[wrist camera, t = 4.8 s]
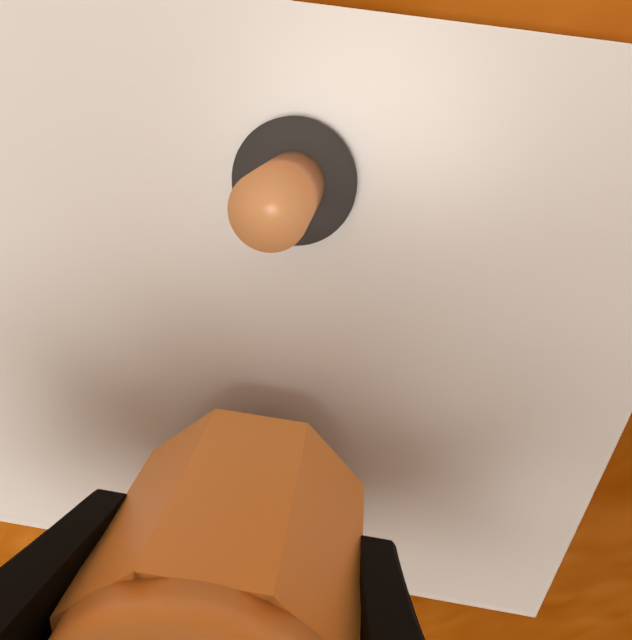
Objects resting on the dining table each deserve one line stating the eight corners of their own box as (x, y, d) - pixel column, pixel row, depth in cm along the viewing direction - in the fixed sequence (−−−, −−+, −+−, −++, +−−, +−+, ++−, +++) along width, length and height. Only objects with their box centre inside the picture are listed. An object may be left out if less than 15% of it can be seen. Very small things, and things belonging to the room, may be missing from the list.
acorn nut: (377, 431, 10) (379, 774, 5) (345, 589, 13) (323, 947, 7) (149, 395, 11) (-68, 688, 5) (155, 555, 13) (1, 880, 8)
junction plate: (746, 67, 9) (993, 50, 6) (523, 580, 15) (572, 736, 11) (-73, -37, 10) (-335, -114, 6) (18, 490, 16) (-90, 610, 12)
